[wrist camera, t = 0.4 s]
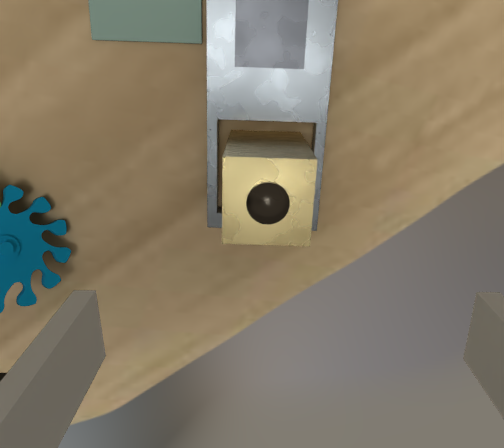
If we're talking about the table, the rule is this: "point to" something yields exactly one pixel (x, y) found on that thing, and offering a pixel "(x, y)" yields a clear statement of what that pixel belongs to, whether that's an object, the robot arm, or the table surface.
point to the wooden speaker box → (267, 188)
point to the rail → (268, 73)
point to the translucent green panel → (147, 20)
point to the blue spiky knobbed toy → (26, 247)
